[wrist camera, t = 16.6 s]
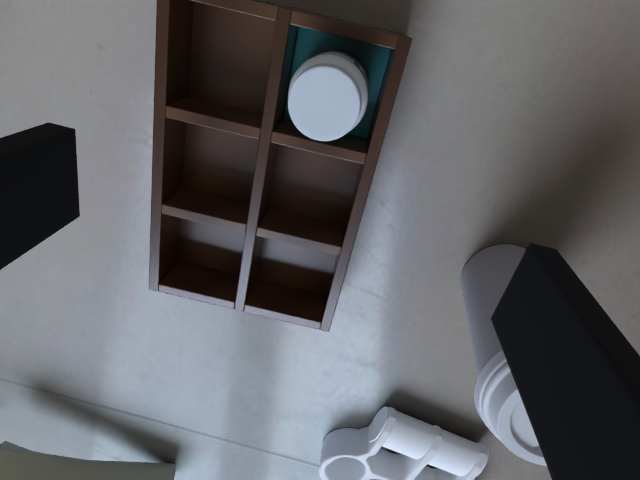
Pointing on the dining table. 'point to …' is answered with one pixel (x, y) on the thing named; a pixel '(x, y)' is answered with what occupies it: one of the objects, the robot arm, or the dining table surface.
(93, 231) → the dining table surface
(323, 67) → the pill bottle
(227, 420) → the dining table surface
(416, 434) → the knuckle duster
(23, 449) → the flower vase
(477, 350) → the coffee cup
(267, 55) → the grid
